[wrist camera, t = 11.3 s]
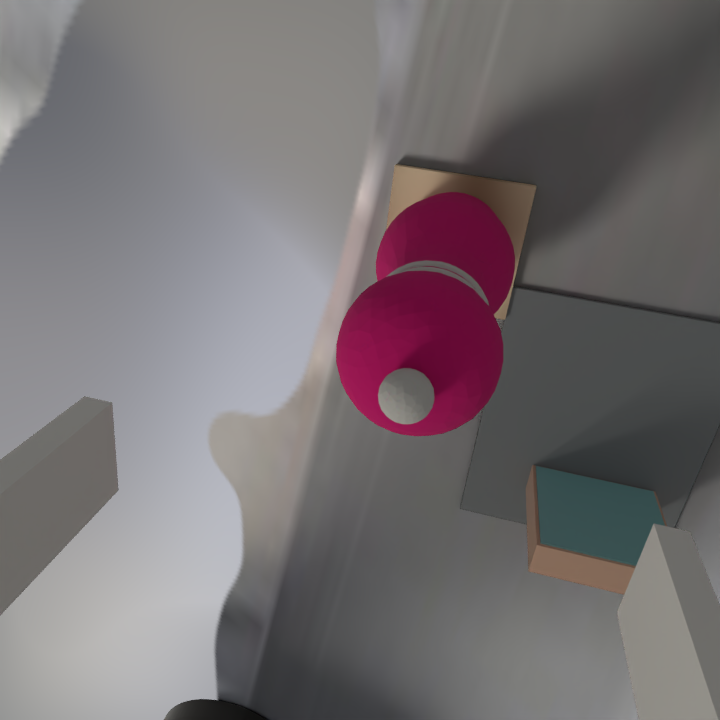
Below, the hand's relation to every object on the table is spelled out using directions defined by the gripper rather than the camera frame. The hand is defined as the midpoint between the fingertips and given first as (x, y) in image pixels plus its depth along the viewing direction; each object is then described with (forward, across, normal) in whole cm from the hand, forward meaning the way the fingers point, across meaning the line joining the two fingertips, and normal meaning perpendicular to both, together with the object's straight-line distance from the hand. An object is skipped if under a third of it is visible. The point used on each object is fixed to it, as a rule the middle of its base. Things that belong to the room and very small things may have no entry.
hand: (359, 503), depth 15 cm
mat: (+25, +11, -10) cm, 29 cm away
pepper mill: (+25, 0, 0) cm, 25 cm away
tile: (+25, +12, -15) cm, 31 cm away
